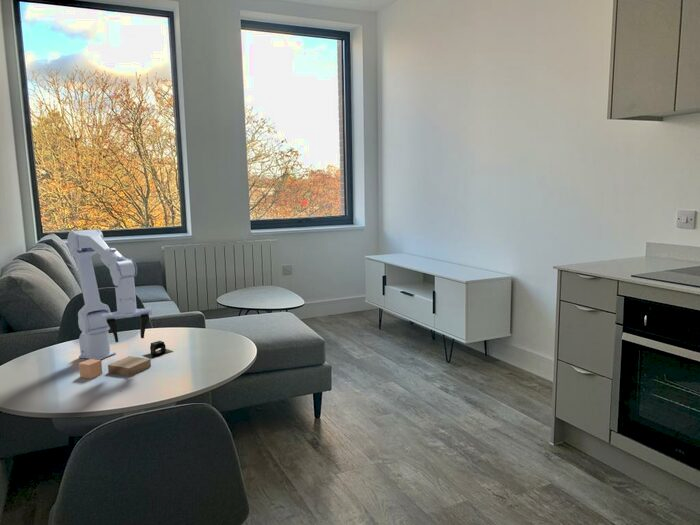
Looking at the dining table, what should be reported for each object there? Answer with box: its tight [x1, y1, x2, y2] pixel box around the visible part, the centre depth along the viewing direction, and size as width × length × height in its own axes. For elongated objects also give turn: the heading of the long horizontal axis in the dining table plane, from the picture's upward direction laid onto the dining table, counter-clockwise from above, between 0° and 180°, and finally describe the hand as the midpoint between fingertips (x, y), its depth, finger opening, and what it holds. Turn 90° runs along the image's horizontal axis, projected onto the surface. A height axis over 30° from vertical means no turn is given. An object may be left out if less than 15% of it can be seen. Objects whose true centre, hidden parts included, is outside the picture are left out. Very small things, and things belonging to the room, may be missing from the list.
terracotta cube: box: [78, 359, 103, 379], centre depth 169 cm, size 4×4×4 cm
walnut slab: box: [107, 355, 152, 377], centre depth 174 cm, size 9×9×3 cm
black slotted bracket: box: [141, 340, 175, 360], centre depth 189 cm, size 12×7×5 cm, turn 141°
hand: (129, 339), depth 173 cm, fingers open, 7 cm apart
